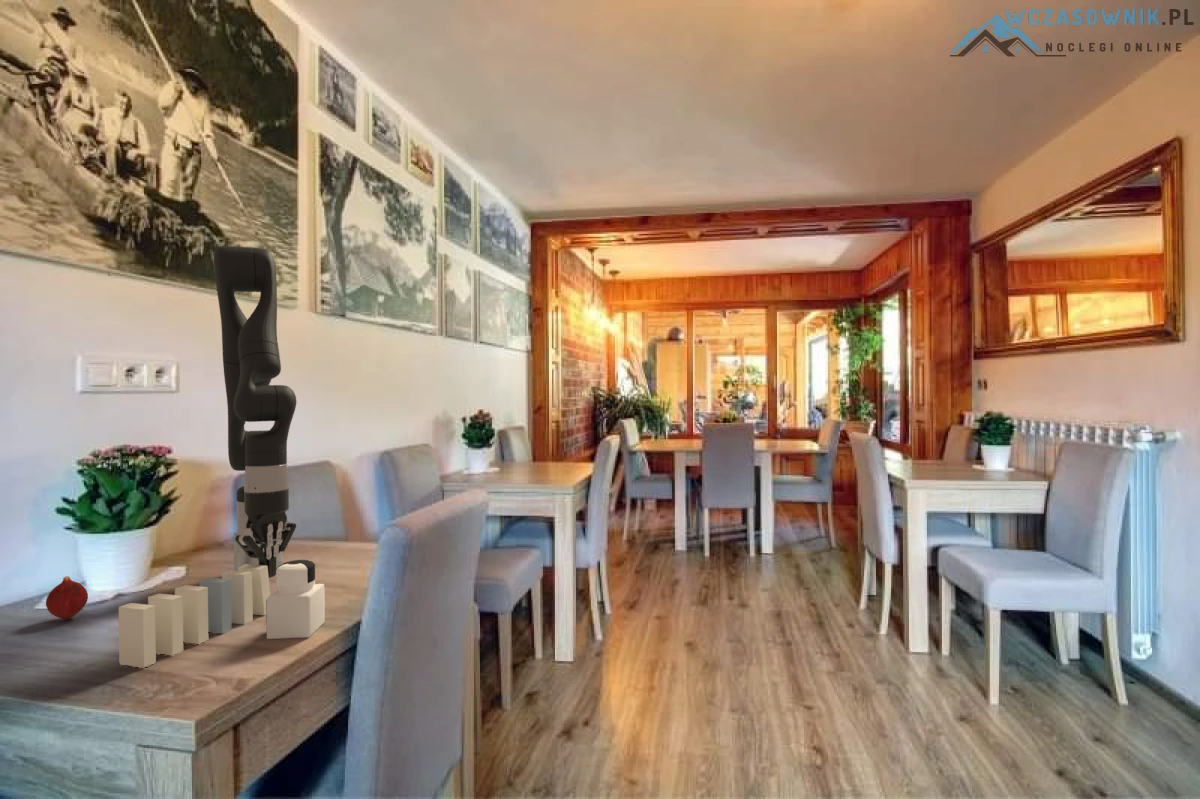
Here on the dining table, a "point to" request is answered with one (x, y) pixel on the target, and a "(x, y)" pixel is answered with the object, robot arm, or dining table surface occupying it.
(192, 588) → the domino
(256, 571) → the domino
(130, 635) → the domino
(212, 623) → the domino
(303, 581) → the medicine bottle
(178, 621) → the domino
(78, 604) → the onion
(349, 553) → the dining table surface
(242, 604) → the domino
